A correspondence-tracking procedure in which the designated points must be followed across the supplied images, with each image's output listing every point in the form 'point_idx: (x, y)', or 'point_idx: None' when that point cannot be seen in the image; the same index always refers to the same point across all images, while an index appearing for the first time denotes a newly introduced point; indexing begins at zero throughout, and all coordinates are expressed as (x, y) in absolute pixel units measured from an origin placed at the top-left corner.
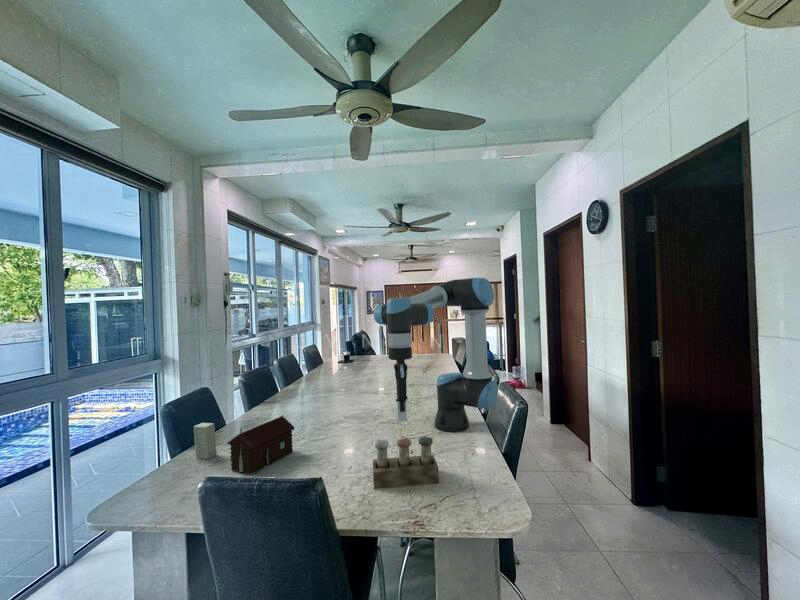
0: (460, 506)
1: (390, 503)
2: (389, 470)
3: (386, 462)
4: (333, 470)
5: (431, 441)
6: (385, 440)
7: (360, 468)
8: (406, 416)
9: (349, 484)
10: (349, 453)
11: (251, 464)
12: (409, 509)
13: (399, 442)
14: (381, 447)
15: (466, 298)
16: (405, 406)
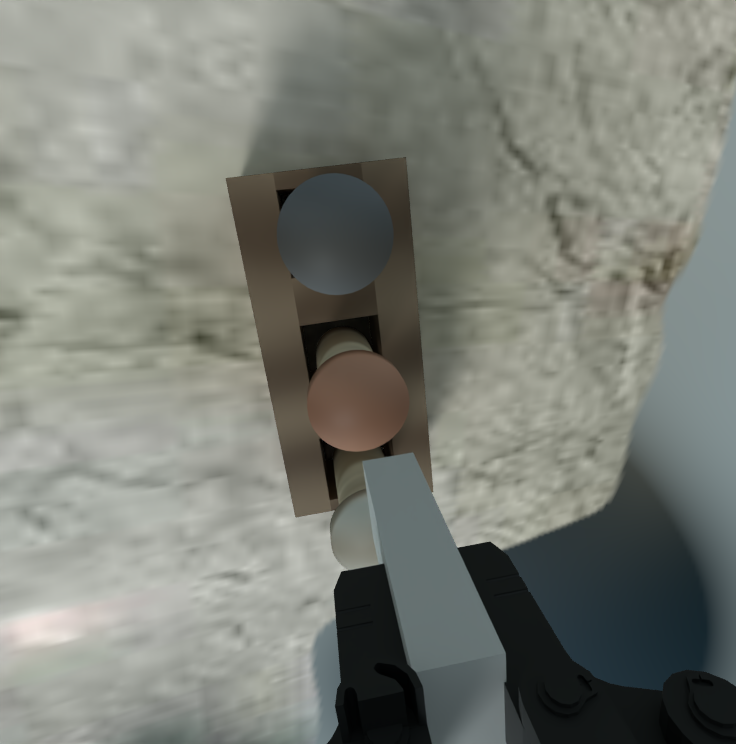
0: (591, 80)
1: (523, 379)
2: (421, 424)
3: (376, 452)
4: (259, 627)
5: (367, 185)
6: (339, 523)
7: (236, 537)
8: (425, 483)
9: None
10: (76, 616)
11: None
12: (573, 306)
13: (380, 432)
14: None
15: None
16: (467, 580)
